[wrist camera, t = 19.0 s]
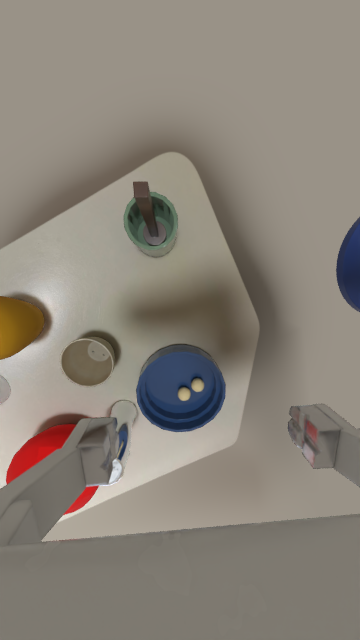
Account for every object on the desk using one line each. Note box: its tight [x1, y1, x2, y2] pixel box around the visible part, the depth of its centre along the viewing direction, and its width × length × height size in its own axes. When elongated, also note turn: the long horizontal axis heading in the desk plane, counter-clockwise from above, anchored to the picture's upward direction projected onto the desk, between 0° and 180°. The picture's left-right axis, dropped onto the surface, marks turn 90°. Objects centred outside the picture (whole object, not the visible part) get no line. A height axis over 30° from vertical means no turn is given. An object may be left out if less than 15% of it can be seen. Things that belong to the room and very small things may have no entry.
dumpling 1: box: [178, 387, 191, 401], centre depth 45 cm, size 3×3×3 cm
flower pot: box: [60, 337, 115, 387], centre depth 40 cm, size 10×10×7 cm
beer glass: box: [101, 400, 137, 486], centre depth 40 cm, size 7×7×15 cm
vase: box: [6, 424, 99, 515], centre depth 39 cm, size 18×18×19 cm
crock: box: [124, 192, 178, 257], centre depth 34 cm, size 8×8×10 cm
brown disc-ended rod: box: [133, 182, 166, 246], centre depth 29 cm, size 4×4×20 cm
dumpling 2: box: [191, 378, 204, 392], centre depth 44 cm, size 3×3×3 cm
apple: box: [0, 296, 44, 360], centre depth 35 cm, size 11×11×13 cm
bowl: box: [136, 345, 225, 432], centre depth 44 cm, size 19×19×5 cm
